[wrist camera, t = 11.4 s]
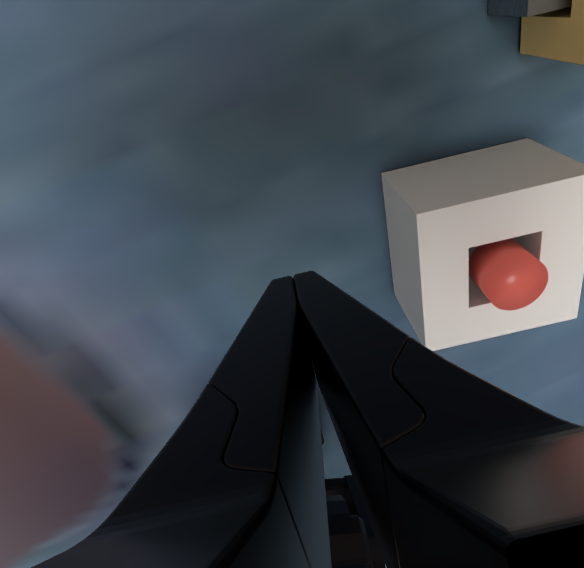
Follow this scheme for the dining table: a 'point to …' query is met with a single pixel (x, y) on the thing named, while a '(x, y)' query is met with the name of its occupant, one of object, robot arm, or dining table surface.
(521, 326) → the white button housing
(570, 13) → the block
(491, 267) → the button
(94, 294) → the dining table surface
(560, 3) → the rail
